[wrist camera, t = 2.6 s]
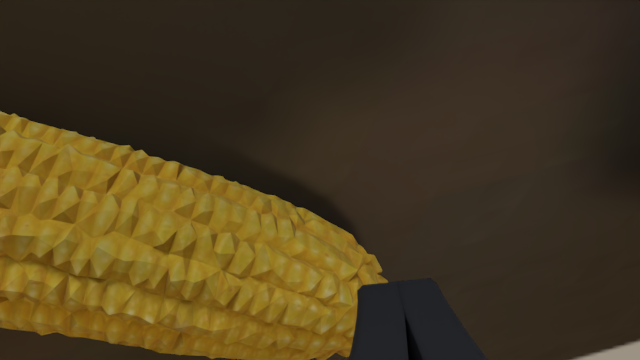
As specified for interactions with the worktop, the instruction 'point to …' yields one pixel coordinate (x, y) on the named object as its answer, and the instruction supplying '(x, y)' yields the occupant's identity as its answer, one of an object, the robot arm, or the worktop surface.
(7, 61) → the worktop surface
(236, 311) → the food
